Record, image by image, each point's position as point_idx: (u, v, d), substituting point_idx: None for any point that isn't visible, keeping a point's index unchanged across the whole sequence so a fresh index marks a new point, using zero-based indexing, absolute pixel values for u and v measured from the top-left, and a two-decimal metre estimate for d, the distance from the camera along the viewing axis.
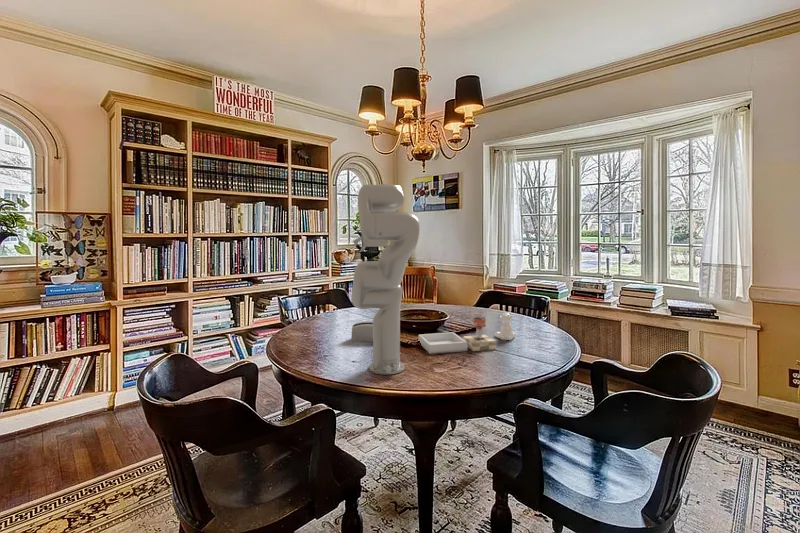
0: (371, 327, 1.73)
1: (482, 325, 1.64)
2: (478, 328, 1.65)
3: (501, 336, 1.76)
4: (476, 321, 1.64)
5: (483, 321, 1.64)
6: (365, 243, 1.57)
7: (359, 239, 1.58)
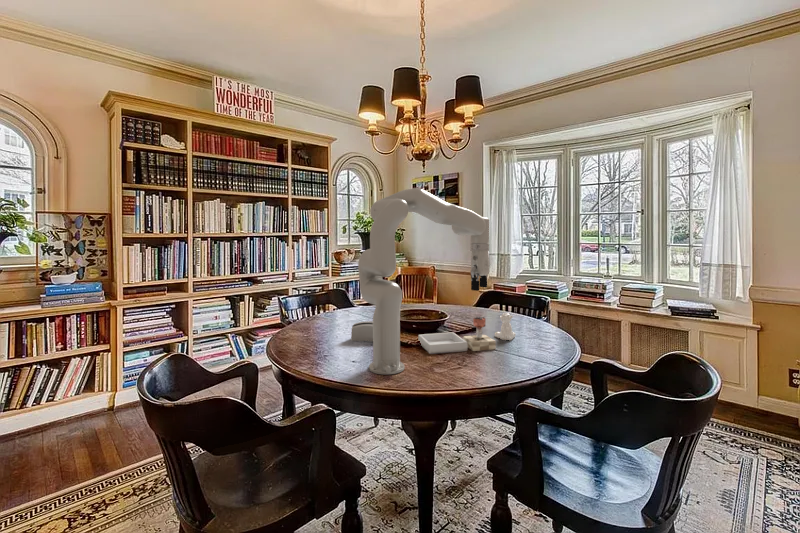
0: (371, 327, 1.73)
1: (482, 325, 1.64)
2: (478, 328, 1.65)
3: (501, 336, 1.76)
4: (476, 321, 1.64)
5: (483, 321, 1.64)
6: (482, 272, 1.59)
7: (475, 269, 1.58)
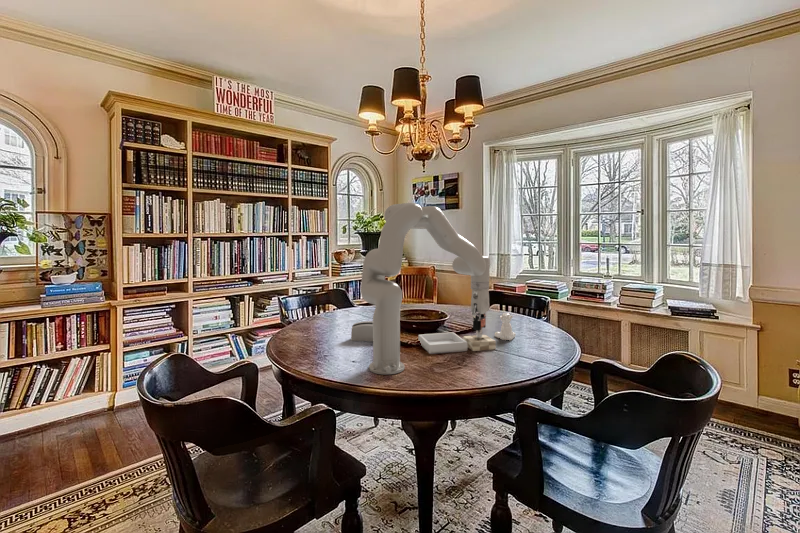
0: (371, 327, 1.73)
1: (482, 325, 1.64)
2: None
3: (501, 336, 1.76)
4: None
5: (483, 321, 1.64)
6: (482, 311, 1.60)
7: (475, 312, 1.60)
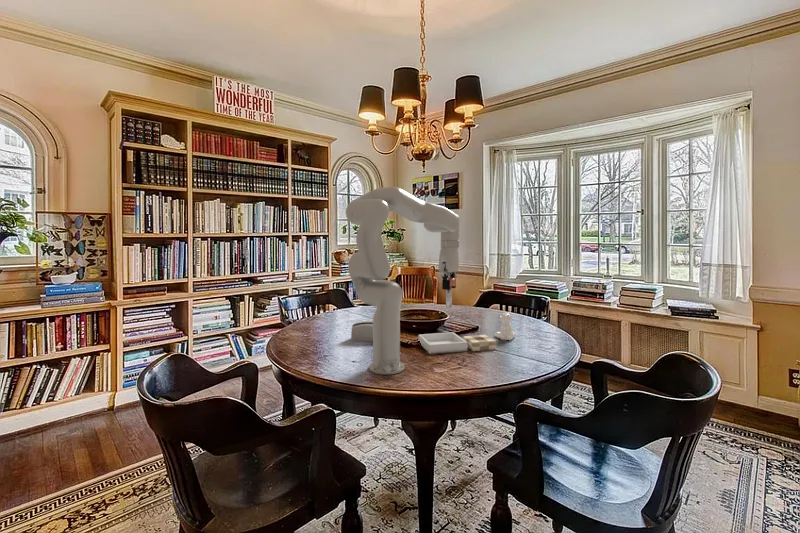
0: (371, 327, 1.73)
1: None
2: None
3: (501, 336, 1.76)
4: None
5: None
6: None
7: None
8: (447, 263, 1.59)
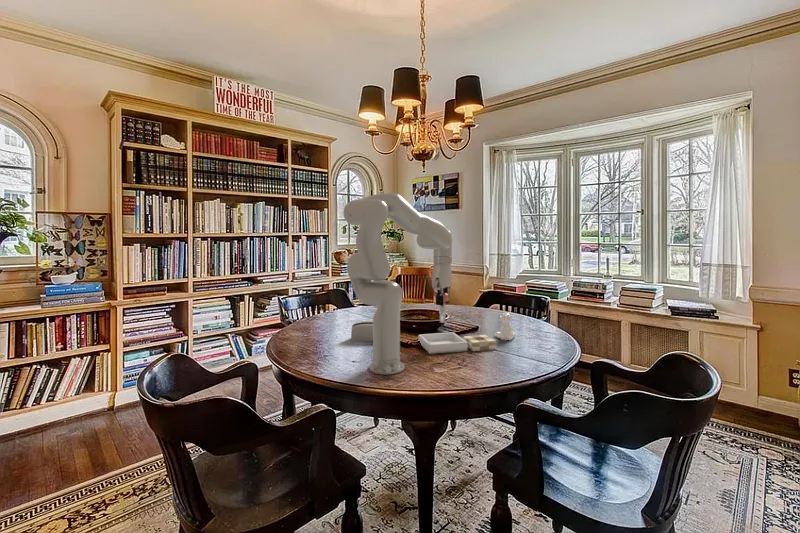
0: (371, 327, 1.73)
1: None
2: None
3: (501, 336, 1.76)
4: None
5: None
6: None
7: None
8: (440, 279, 1.60)
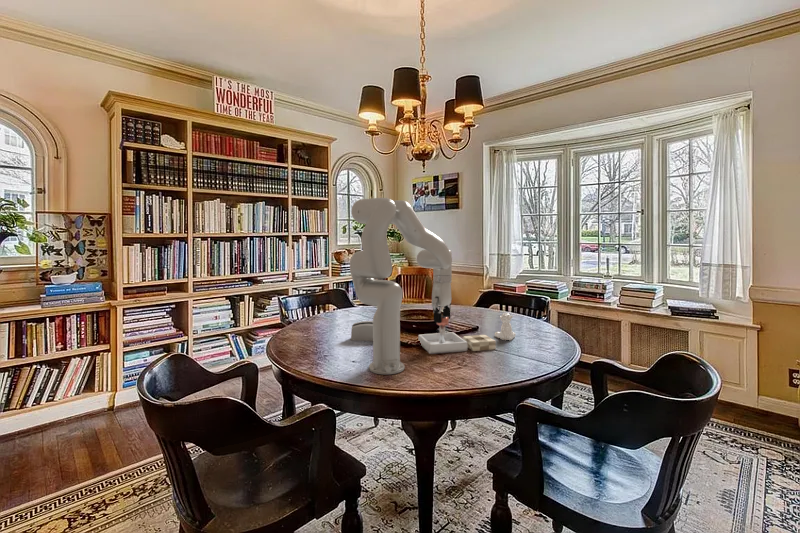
0: (371, 327, 1.73)
1: None
2: None
3: (501, 336, 1.76)
4: None
5: None
6: None
7: None
8: (440, 298, 1.60)
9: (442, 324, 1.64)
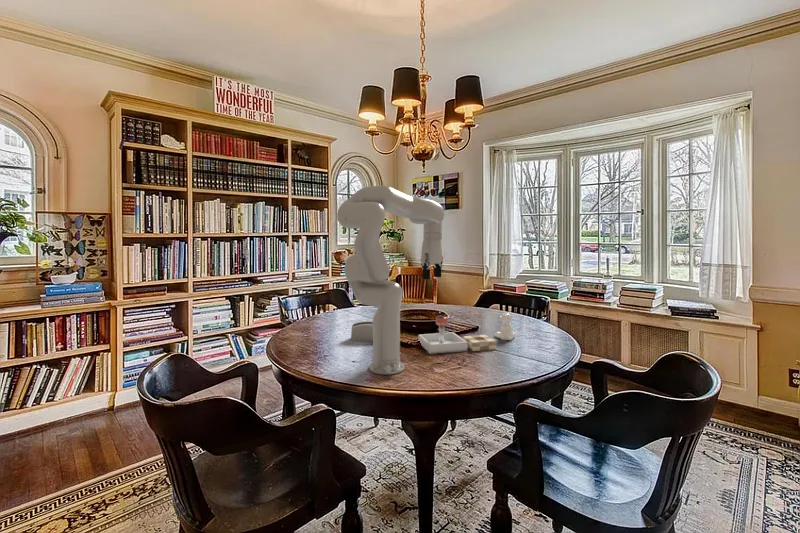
0: (371, 327, 1.74)
1: None
2: None
3: (501, 336, 1.76)
4: None
5: None
6: None
7: None
8: (429, 255, 1.59)
9: (441, 324, 1.64)
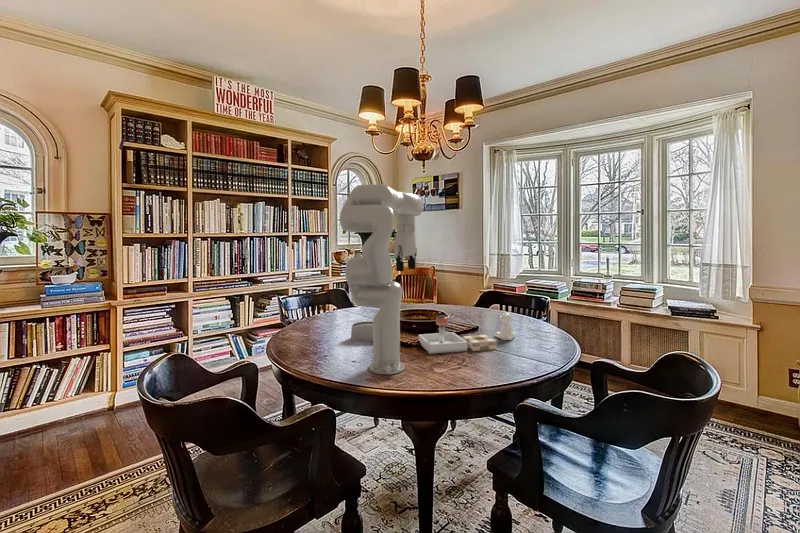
0: (371, 326, 1.74)
1: None
2: None
3: (501, 336, 1.76)
4: None
5: None
6: None
7: None
8: (402, 247, 1.61)
9: (441, 324, 1.64)
